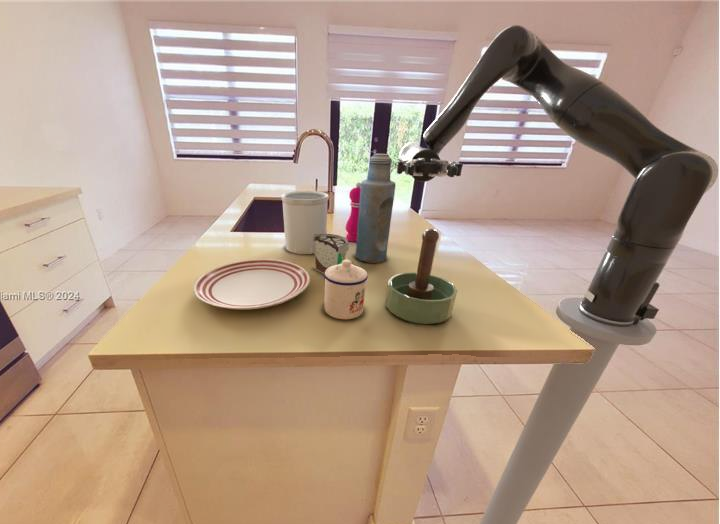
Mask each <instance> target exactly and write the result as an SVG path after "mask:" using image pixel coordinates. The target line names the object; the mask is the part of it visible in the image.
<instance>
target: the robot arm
mask: <svg viewBox="0 0 720 524" xmlns="http://www.w3.org/2000/svg"><path fill="white" fill-rule="evenodd" d="M500 80H503V81H505V82H508V83H511V84H513V85H515V86H516V87H518V88H520V89H522V90H523V91H525V92H526V93H528V94H529V95H531V96H532V97H533V99H535V100H536V101H537V102H538V104H539V105H540V107H541V108H542V110H543V111H544V112H545V114H546V116H548V118H549V119H550V120H551V121H552V122H553V123H554V124H555V125H556V126H557V127H558V128H559V129H560V130H562V131H563V132H564V133H565V134H566V135H567V136H569V137H570V138H572V139H573V140H574V141H576V142H578V143H579V144H581V145H583V146H584V147H587V148H588V149H590V150H591V151H595V152H596V153H598V154H601V155H602V156H605V157H607V158H609V159H611V160H612V161H614V162H615V163H617V164H618V165H620V166H621V167H622V168H624V170H626V171H627V172H628V173H629V174H630V175H631V176H632V177H633V178H634V181H633V183H632V185H631V187H630V189H629V191H628V194H627V196H626V198H625V201H624V202H623V206H622V207H621V210H620V213H619V215H618V217H617V220H616V227H615V230H614V232H613V234H612V237H611V239H610V241H609V243H608V246H607V247H606V250H605V251H604V254H603V256H602V258H601V261H600V262H599V265H598V266H597V269H596V271H595V273H594V275H593V277H592V280H591V282H590V284H589V286H588V288H587V289H586V291H585V292H584V295H583V298H584V299H583V301H582V303H581V304H580V306H579V311H580V312H581V313H582V314H583V315H585V316H586V317H588V318H590V319H593V320H595V321H598V322H600V323H604V324H607V325H612V326H619V327H627V326H631V325H632V324H634V325H637V324H638V322H639V320H641V321H642V320H643V319H645V318H646V319H648V320H654V319H655V318H656V316H657V314H658V312H659V311H660V309H659V308H657V307H656V306H654V305H653V304H651V302H652V300H653V298H654V296H655V295H656V293H657V291H658V290H659V288H660V286H661V285H660V283H659V282H657V281H658V279H659V277H660V276H661V274H662V272H663V270H664V269H665V267H666V265H667V263H668V261H669V260H670V258H671V256H672V254H673V253H674V251H675V249H676V247H677V246H678V244H679V242H680V241H681V239H682V237H683V235H684V232H685V229H686V227H687V225H688V223H689V221H690V219H691V218H692V216H693V214H694V212H695V211H696V208H697V207H698V206H699V204H700V201H701V199H702V198H703V196H705V195H704V194H706V193H707V192H708V191H709V190H710V189H712V187H713V186H714V185H715V183H716V182H717V179H718V176H719V167H718V164H717V162H716V160H715V159H713V158H712V157H711V155H708V154H707V153H704V152H703V151H699V150H697V149H696V148H694V147H691V146H690V145H687V144H686V143H684V142H682V141H680V140H678V139H676V138H675V137H673V136H671V135H669V134H667V133H666V132H665V131H663V130H661V129H660V128H659V127H658V126H656V125H655V124H654V123H653V122H651V120H649V118H648V117H647V116H646V115H645V114H644V113H642V111H641V110H639V109H638V108H637V107H636V106H635V105H634V104H632V103H631V102H630V101H629V100H628V99H626V98H625V97H623V95H621V94H620V93H619V92H618V91H616V90H615V89H614V88H612V87H611V86H609V85H608V84H606V83H605V82H604V81H602V80H600V79H599V78H597V77H595V76H593V75H591V74H589V73H588V72H586V71H584V70H581V69H579V68H576V67H574V66H571V65H569V64H567V63H565V62H564V61H563V60H561V58H559V57H558V56H557V55H556V54H555V53H554V52H553V51H552V50H551V49H550V48H549V47H548V46H547V45H546V44H545V43H544V42H543V40H542V39H541V38H540V37H539V36H538V35H537V34H535V33H534V32H532V31H531V30H530V29H528V28H527V27H525V26H523V25H519V24H514V25H510V26H507V27H506V28H504V29H503V30H501V31H499V33H498V34H497V35H496V36H495V37H494V38H493V40H491V42H490V43H489V45H488V46H487V48H486V49H485V51H484V52H483V54H482V55H481V56H480V58H479V60H478V61H477V63H476V65H475V66H474V67H473V69H472V70H471V72H470V73H469V75H468V76H467V77H466V79H465V81H464V82H463V84H462V85H461V86H460V88H459V89H458V91H457V92H456V94H455V95H454V96H453V98H452V99H451V100H450V101H449V103H448V104H447V106H446V107H444V109H443V110H442V112H441V113H440V114H439V115H438V116H437V117H436V118H435V119H434V120H433V122H432V123H431V124H430V125H429V126H428V128H427V129H426V130H425V131H424V132H423V136H422V138H423V141H424V143H425V145H426V146H427V147H428V148H426V147H422V146H421V145H420V144H418V142H417V141H409V142H408V143H406V144H405V145H403V147H402V148H401V149H400V151H399V154H398V160H397V167H396V174H397V175H401V174H403V173H404V174H405V175H406V176H408V175H409V176H410V177H412V178H413V179H414V180H415V181H417V182H421V183H426V182H429V181H432V180H433V179H434V178H435V177H439V178H443V177H446V176H447V177H449V178H455V176H456V177H461V175H462V169H463V166H464V164H463V163H461V162H457V161H451V162H450V163H449V161H448V160H445V159H443V160H442V159H441V157H440V153H441V152H442V150H443V149H444V148H445V147H446V146H447V145H448V144H449V143H450V142H451V141H452V140H453V139H454V137H456V136H457V135H458V133H459V132H461V130H462V129H463V127H464V126H465V124H466V123H467V121H468V120H469V119H470V116H471V114H472V112H473V111H474V110H475V109H474V108H475V107H476V105H477V104H478V102H479V101H480V100H481V99H482V97H483V96H484V95H485V94H486V93H487V91H489V90H490V89H491V88H492V87H493V86H494V85H495V84H496V83H497V82H498V81H500Z"/></svg>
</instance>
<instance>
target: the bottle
mask: <svg viewBox="0 0 720 524" xmlns="http://www.w3.org/2000/svg"><path fill="white" fill-rule="evenodd" d="M392 163H393V162H392V158H391V156H390V154H386V153H373V155H372V156H371V157H370V158H369V168H368V170H367V171H368V172H367V176H366V179H364V180H361V182H360V183H361V191H360V204H359V217H358V230H357V242H355V243H356V244H355V257H356V259H357V260H359V261H361V262H365V263H370V264H371V263H373V264H376V263H381V262H385V260H386V259H387V256H388V255H387V253H388V246H389V238H390V231H391V223H392V215H393V207H394V202H395V201H394V200H395V193H396V182H395V181H393V180H391V168H392Z"/></svg>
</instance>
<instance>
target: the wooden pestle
mask: <svg viewBox="0 0 720 524" xmlns="http://www.w3.org/2000/svg"><path fill="white" fill-rule="evenodd" d="M421 238H422V241H421V247H420V252H419V258H418V264H417V269H416V273H417V274H416V280H415V281H413V282H411V283H409V287H408V293H407V296H410V297H413V298H418V299H424V300H431V299H432V294H433V289H434V287H433V286H432V285H431V284H429V279H430V275H432V268H433V264H434V259H435V253H436V248H437V245H438V241H439V238H440V233H439V232H438V231H437V230H436V229H435V228H427V229H426V230H424V231H423V233H422V235H421Z"/></svg>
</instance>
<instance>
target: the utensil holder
mask: <svg viewBox="0 0 720 524" xmlns="http://www.w3.org/2000/svg"><path fill="white" fill-rule="evenodd" d="M329 197H330V196H329V194H328V193H327V192H323V191H318V190H292V191H285V192H283V193H282V194H281V201H282V215H283V230H284V242H285V249H286V250H287V251H288V252H290V253H292V254H296V255H313V254H314V255H315V248H314V241H313V237H314V234H328V202H329Z"/></svg>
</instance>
